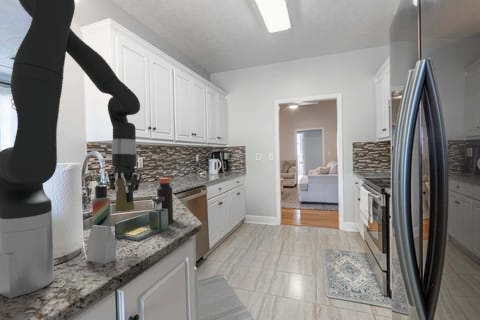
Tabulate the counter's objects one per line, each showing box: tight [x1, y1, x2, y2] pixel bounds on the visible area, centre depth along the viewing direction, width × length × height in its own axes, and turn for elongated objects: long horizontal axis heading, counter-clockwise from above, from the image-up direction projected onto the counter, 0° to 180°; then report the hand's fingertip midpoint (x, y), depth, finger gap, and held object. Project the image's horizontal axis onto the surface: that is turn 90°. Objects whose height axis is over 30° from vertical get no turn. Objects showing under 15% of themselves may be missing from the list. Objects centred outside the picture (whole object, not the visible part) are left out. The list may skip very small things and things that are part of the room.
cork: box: [114, 178, 135, 212], centre depth 79 cm, size 6×6×11 cm
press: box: [114, 208, 170, 242], centre depth 92 cm, size 16×12×8 cm
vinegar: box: [156, 177, 174, 223], centre depth 108 cm, size 7×7×20 cm
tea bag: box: [86, 224, 117, 265], centre depth 68 cm, size 4×7×10 cm, turn 71°
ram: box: [151, 196, 164, 211], centre depth 96 cm, size 5×5×8 cm
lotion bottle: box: [91, 184, 112, 229], centre depth 86 cm, size 6×6×20 cm
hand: (124, 202), depth 79 cm, fingers closed on cork, 3 cm apart
